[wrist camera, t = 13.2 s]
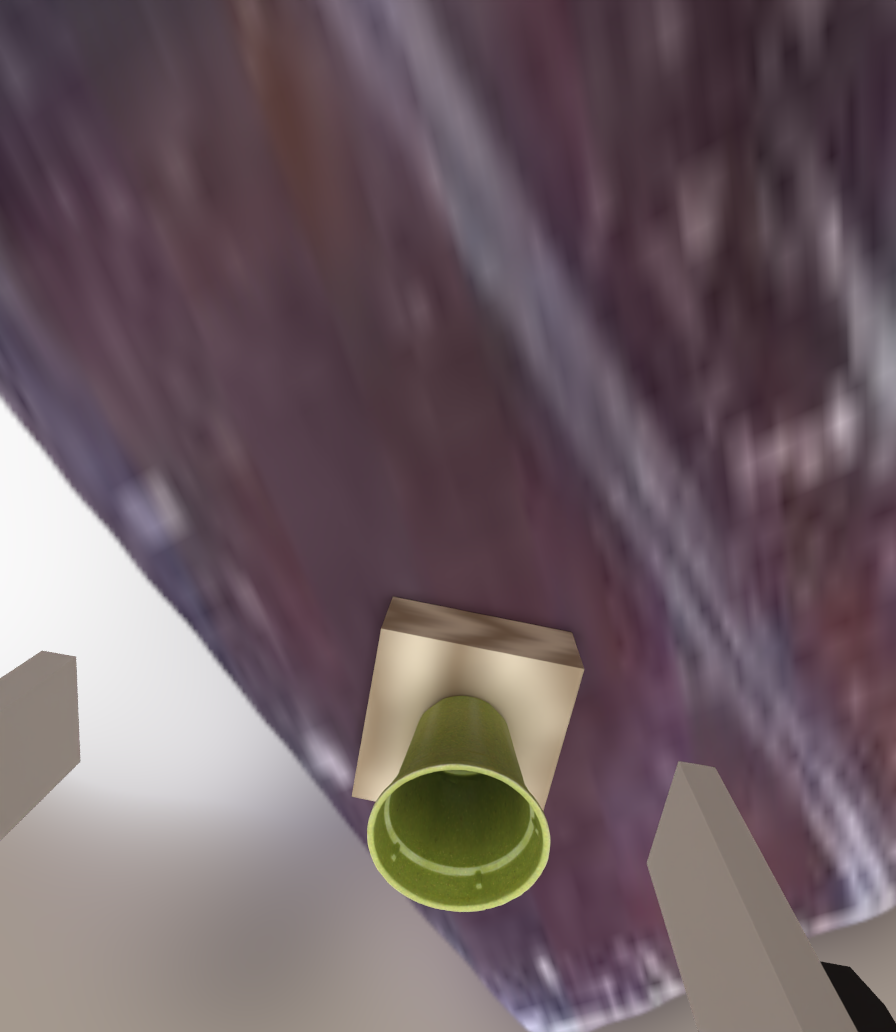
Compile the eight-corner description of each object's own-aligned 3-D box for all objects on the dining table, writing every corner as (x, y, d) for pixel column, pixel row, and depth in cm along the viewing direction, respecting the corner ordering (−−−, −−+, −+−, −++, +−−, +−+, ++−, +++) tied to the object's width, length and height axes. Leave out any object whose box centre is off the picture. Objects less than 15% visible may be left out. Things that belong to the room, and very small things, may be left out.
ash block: (571, 632, 41) (584, 669, 36) (530, 781, 44) (536, 833, 39) (392, 596, 41) (381, 628, 36) (365, 748, 44) (351, 796, 39)
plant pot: (529, 798, 39) (543, 920, 30) (391, 790, 39) (367, 907, 31) (539, 675, 36) (557, 770, 28) (391, 668, 37) (365, 759, 28)
